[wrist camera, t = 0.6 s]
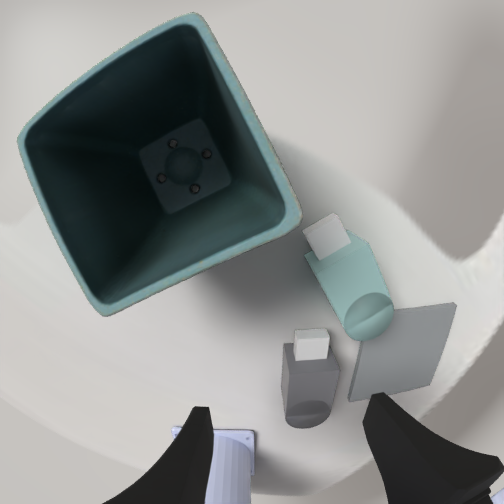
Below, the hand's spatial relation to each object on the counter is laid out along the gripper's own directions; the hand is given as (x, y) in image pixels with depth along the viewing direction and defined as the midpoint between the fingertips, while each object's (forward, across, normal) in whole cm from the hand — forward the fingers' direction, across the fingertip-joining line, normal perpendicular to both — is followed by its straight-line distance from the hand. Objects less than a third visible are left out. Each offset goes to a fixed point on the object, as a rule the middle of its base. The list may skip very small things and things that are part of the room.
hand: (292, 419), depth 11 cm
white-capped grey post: (+10, -2, +4) cm, 11 cm away
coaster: (+10, -11, +5) cm, 15 cm away
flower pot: (+10, +5, -11) cm, 15 cm away
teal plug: (+10, -4, -4) cm, 11 cm away
